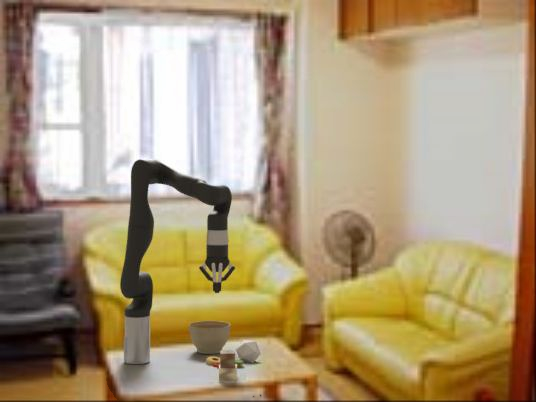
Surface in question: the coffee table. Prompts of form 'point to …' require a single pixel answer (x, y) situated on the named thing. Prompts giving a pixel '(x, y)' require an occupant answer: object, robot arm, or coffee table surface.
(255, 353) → the die
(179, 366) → the coffee table surface
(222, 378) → the beech block
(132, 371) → the coffee table surface
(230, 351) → the walnut cube
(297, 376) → the coffee table surface
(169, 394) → the coffee table surface
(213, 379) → the board
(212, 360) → the toy food set
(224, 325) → the planter bowl
